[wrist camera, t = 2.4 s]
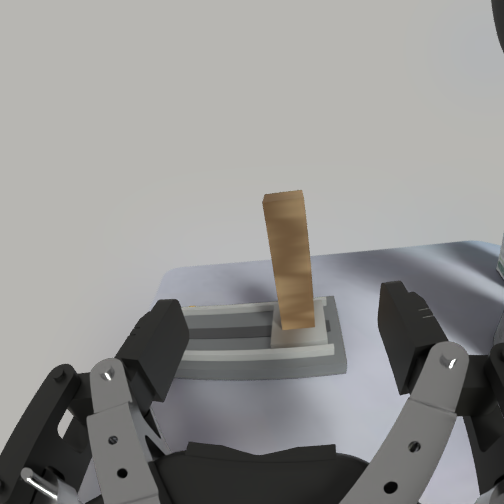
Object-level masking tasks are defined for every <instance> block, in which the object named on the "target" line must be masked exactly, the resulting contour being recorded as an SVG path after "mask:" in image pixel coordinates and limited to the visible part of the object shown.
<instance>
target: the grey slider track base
mask: <svg viewBox="0 0 504 504" xmlns="http://www.w3.org/2000/svg"><path fill="white" fill-rule="evenodd" d="M314 300H322V304H323V310H324V317H325V324H326V331H327V338H328V344H325V345H316V346H305V347H292V348H278V349H271V334H272V323H273V311H274V304H279V303H278V301H274V302H262V303H249V304H234V305H217V306H198V307H196V306H189V307H181V309H182V312H183V315H184V317H185V320H186V323H187V326H188V329H189V342H188V345H187V347H186V350H185V352H184V354H183V357H182V359H181V362H180V364H179V366H178V369H177V371H176V374H175V376H174V378H184V379H203V380H272V379H292V378H306V377H317V376H328V375H337V374H345V373H346V369H347V359H346V354H345V348H344V343H343V338H342V332H341V327H340V322H339V318H338V313H337V308H336V303H335V299H334V296H327V297H317V298H313V301H314Z"/></svg>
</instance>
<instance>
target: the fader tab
mask: <svg viewBox="0 0 504 504" xmlns="http://www.w3.org/2000/svg"><path fill="white" fill-rule="evenodd" d="M262 203H263V209H264V215H265V221H266V226H267V233H268V239H269V245H270V252H271V258H272V264H273V271H274V277H275V283H276V290H277V296H278V303H279V304H274V311H273V323H272V334H271V349H278V348H292V347H305V346H316V345H325V344H328V338H327V331H326V324H325V317H324V310H323V304H322V300H314V301H313V287H312V274H311V262H310V251H309V242H308V231H307V223H306V214H305V205H304V197H303V193H302V190H297V191H288V192H280V193H272V194H265V195H264V199H263V202H262Z"/></svg>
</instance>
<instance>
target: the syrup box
mask: <svg viewBox="0 0 504 504" xmlns="http://www.w3.org/2000/svg"><path fill="white" fill-rule="evenodd" d="M496 270H497V271H498V272H499V273H500V275H501V277H502V278H503V280H504V234H503V240H502V245H501V250H500V255H499V259H498V263H497V269H496Z"/></svg>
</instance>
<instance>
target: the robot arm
mask: <svg viewBox="0 0 504 504" xmlns="http://www.w3.org/2000/svg"><path fill="white" fill-rule="evenodd" d="M491 2H492V11H493V16H494V22H495V26H496V31H497V35H498V39H499V42H500V45H501V48H502V50H503V52H504V0H491ZM378 328H379V332H380V335H381V338H382V340H383V343H384V346H385V349H386V352H387V355H388V358H389V361H390V365H391V368H392V371H393V374H394V377H395V381H396V384H397V388H398V391H399V394H400V395H403V394H408V393H410V397H409V398H408V399H407V401H406V403H405V405H404V407H403V409H402V411H401V413H400V415H399V416H398V418H397V420H396V422H395V424H394V425H393V427H392V429H391V431H390V432H389V434H388V436H387V437H386V439H385V441H384V442H383V444H382V445H381V447H380V449H379V450H378V452H377V453H376V455H375V456H374V458H373V459H372V461H371V462H370V463H368V462H366V461H364V460H362V459H360V458H357V457H354V456H351V455H347V454H342V453H336V446H335V444H332V445H321V446H307V447H296V448H292V449H288V450H283V451H279V452H274V453H270V454H265V455H253V454H249V453H246V452H242V451H239V450H235V449H232V448H229V447H225V446H222V445H212V444H203V443H195V442H189V443H188V446H187V450H185V451H179V452H175V453H172V452H171V450H170V449H169V447H168V445H167V444H166V441H165V439H164V437H163V434H162V432H161V430H160V427H159V425H158V422H157V420H156V417H155V415H154V412H153V410H152V408H151V407H150V405H151V403H152V401H158V402H164V400H165V398H166V395H167V393H168V390H169V388H170V386H171V383H172V381H173V378H174V376H175V374H176V371H177V369H178V366H179V364H180V362H181V359H182V357H183V354H184V352H185V350H186V347H187V345H188V342H189V329H188V326H187V323H186V320H185V317H184V315H183V312H182V309H181V306H180V303H179V301H178V300H177V299H165V300H158V301H157V303H156V304H155V306H154V307H153V309H152V310H151V312H148V313H147V314H145V315H144V316H143V317H142V318H140V319H139V321H138V323H137V324H136V325H135V327H134V329H133V330H132V332H131V333H130V336H128V337H127V339H126V341H125V342H124V344H123V345H122V347H121V348H120V350H119V351H118V353H117V354H116V356H115V358H108V359H105V360H102V361H100V362H99V363H97V364H96V365H95V366H94V367H93V369H92V370H91V372H89V373H81V374H77V373H76V371H75V370H74V368H73V367H72V366H71V365H69V364H62V365H59V366H57V367H55V368H54V369H53V370H52V371H51V372H50V373H49V375H48V376H47V378H46V379H45V380H44V382H43V383H42V385H41V386H40V388H39V390H38V391H37V393H36V395H35V396H34V398H33V399H32V401H31V402H30V404H29V405H28V407H27V409H26V410H25V412H24V414H23V415H22V417H21V419H20V421H19V422H18V424H17V425H16V427H15V429H14V431H13V433H12V434H11V436H10V438H9V440H8V442H7V443H6V446H5V447H4V449H3V451H2V453H1V455H0V504H83V503H82V502H81V501H80V500H78V491H79V489H80V486H81V483H82V481H83V478H84V475H85V473H86V470H87V468H88V465H89V463H90V460H91V458H92V456H93V461H94V465H95V470H96V474H97V478H98V482H99V486H100V489H101V493H102V494H101V495H99V496H98V497H96V498H94V499H92V500H90V501H89V502H87V503H85V504H421V503H419V502H418V501H419V499H420V497H421V495H422V494H423V492H424V490H425V488H426V486H427V485H428V483H429V481H430V479H431V477H432V475H433V473H434V471H435V469H436V467H437V465H438V463H439V460H440V458H441V456H442V454H443V451H444V449H445V447H446V444H447V442H448V439H449V437H450V434H451V432H452V429H453V426H454V424H455V421H456V417H457V416H463V419H464V423H465V426H466V430H467V434H468V437H469V441H470V445H471V449H472V454H473V458H474V463H475V468H476V473H477V479H478V485H479V491H480V497H479V498H478V499H477V500H476V502H475V503H474V504H504V418H503V417H504V312H503V315H502V317H501V320H500V323H499V325H498V328H497V330H496V332H495V335H494V340H493V341H494V346H493V347H492V349H491V351H490V353H489V355H468V353H467V351H466V350H465V349H464V348H463V347H462V346H461V345H459V344H457V343H454V342H449V341H448V339H447V337H446V335H445V334H444V332H443V330H442V328H441V327H440V325H439V323H438V322H437V320H436V318H435V317H434V316H433V313H432V312H431V310H430V309H429V307H428V305H427V304H426V302H425V300H424V299H423V298H422V297H420V296H419V295H418V294H416V293H415V292H409V293H408V291H407V290H406V288H405V286H404V285H403V283H402V282H401V281H394V282H386V283H382V284H381V289H380V299H379V309H378ZM498 404H499V405H498ZM499 406H500V407H499ZM66 409H68V410H69V411H70V412H71V413H72V415H73V416H74V417H73V419H72V421H71V423H70V425H69V427H68V429H67V431H66V433H65V435H64V437H63V439H62V438H61V437H60V436H59V434H58V431H57V428H58V424H59V422H60V420H61V419H62V417H63V415H64V413H65V411H66ZM500 409H501V410H500ZM502 414H503V415H502Z"/></svg>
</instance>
